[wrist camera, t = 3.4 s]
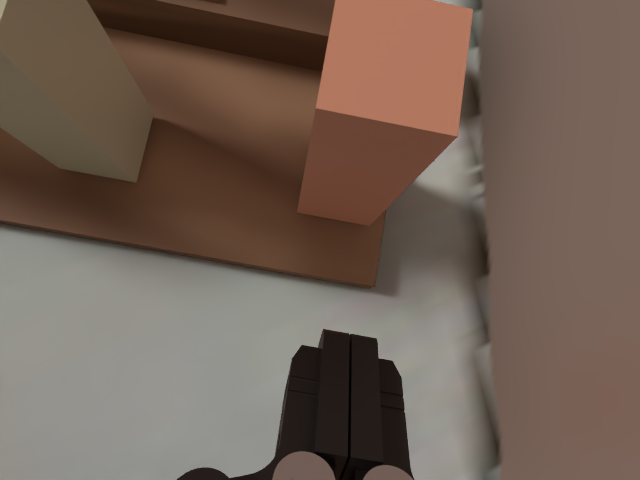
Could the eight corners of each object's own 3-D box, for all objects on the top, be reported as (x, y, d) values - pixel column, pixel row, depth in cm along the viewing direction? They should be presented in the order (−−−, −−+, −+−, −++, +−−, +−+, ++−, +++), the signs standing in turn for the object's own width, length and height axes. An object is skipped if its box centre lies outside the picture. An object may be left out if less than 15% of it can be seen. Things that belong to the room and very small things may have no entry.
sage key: (136, 182, 21) (-7, 43, 11) (59, 168, 21) (-168, 11, 10) (154, 112, 22) (35, -86, 11) (79, 98, 22) (-115, -118, 11)
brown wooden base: (369, 288, 23) (391, 280, 19) (-198, 187, 22) (-320, 153, 17) (405, 49, 26) (431, -7, 21) (-103, -58, 24) (-189, -142, 20)
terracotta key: (369, 226, 22) (457, 136, 11) (296, 212, 22) (315, 107, 11) (380, 156, 23) (473, 9, 12) (309, 143, 22) (339, -20, 12)
